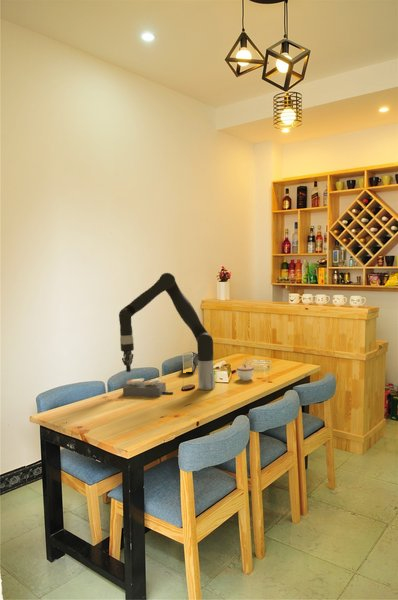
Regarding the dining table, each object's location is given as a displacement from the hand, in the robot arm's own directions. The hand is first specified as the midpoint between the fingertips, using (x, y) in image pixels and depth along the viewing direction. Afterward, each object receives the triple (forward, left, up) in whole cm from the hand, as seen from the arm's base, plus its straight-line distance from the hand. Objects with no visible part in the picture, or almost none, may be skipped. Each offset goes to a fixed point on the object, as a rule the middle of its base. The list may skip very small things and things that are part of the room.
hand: (128, 371), depth 265 cm
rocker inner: (-15, 0, -7) cm, 16 cm away
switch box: (-12, 0, -13) cm, 18 cm away
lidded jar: (-64, -36, -13) cm, 75 cm away
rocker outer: (-4, 0, -7) cm, 8 cm away
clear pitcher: (-23, -59, -13) cm, 65 cm away
